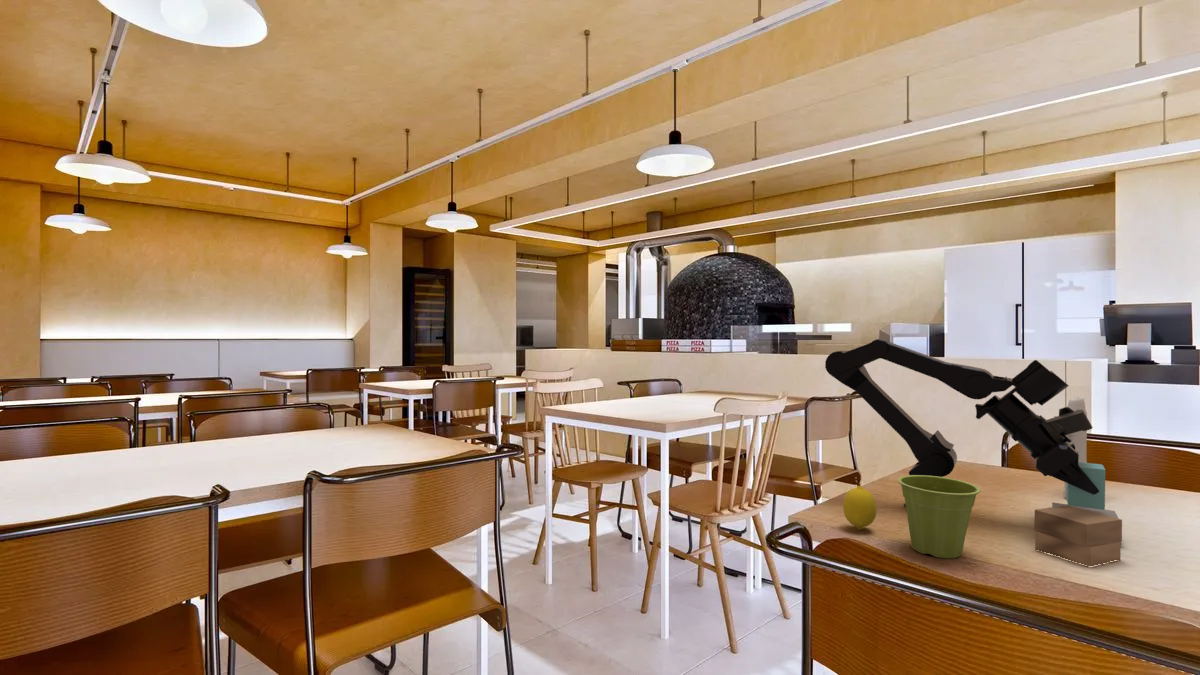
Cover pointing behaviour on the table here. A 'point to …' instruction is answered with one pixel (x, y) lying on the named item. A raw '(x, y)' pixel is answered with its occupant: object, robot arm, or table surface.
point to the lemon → (859, 507)
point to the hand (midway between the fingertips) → (1095, 489)
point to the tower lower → (1077, 550)
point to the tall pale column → (1078, 433)
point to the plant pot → (938, 513)
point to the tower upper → (1078, 525)
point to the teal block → (1085, 498)
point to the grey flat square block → (1104, 512)
